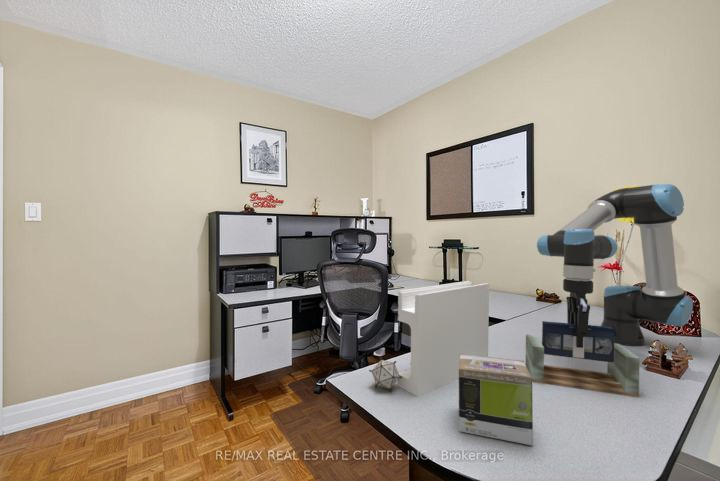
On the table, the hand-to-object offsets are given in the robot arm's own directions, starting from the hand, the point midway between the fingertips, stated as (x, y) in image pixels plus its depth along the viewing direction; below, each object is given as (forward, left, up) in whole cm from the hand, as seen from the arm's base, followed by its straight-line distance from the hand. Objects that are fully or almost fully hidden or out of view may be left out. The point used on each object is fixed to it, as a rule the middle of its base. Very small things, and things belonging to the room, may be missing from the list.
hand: (576, 355), depth 95 cm
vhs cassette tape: (0, 0, -1) cm, 1 cm away
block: (+38, +10, -8) cm, 40 cm away
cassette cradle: (0, 0, -8) cm, 8 cm away
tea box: (+26, +34, -8) cm, 43 cm away
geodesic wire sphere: (+54, +25, -8) cm, 60 cm away
